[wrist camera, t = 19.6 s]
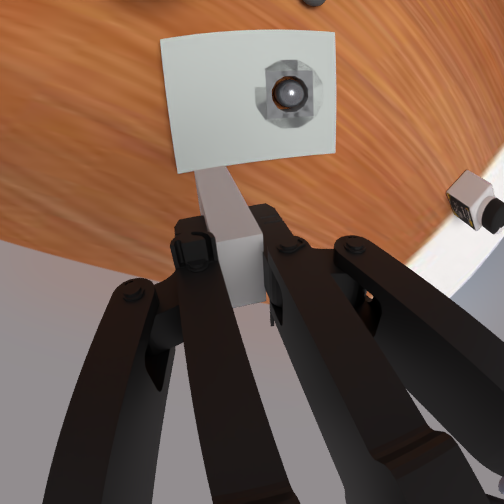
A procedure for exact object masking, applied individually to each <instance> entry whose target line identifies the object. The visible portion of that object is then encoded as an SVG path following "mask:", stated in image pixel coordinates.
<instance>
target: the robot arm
mask: <svg viewBox="0 0 504 504" xmlns="http://www.w3.org/2000/svg"><path fill="white" fill-rule="evenodd" d="M194 173H195V180H196V187H197V193H198V200H199V206H200V213H201V216H196V217H191V218H186V219H180V220H179V221H178V222H177V224H176V225H175V227H174V228H175V238H174V239H173V240H172V241H171V244H170V248H171V253H172V257H173V261H174V265H175V269H176V270H175V272H174V273H173V274H172V275H171V276H170V277H169V278H167V279H166V280H164V281H162V282H160V283H157V284H155V285H154V284H153V283H152V281H150V280H148V279H144V278H135V279H130V280H128V281H126V282H123V283H122V284H121V285H119V286H118V287H117V288H116V289H115V291H114V292H113V294H112V296H111V299H110V301H109V303H108V305H107V308H106V310H105V312H104V315H103V317H102V319H101V322H100V324H99V326H98V329H97V331H96V334H95V336H94V339H93V341H92V344H91V346H90V349H89V351H88V354H87V356H86V359H85V361H84V364H83V367H82V370H81V372H80V375H79V378H78V380H77V383H76V386H75V389H74V392H73V395H72V398H71V401H70V404H69V407H68V410H67V413H66V416H65V419H64V422H63V426H62V429H61V432H60V436H59V439H58V442H57V446H56V450H55V453H54V457H53V461H52V464H51V468H50V473H49V477H48V481H47V485H46V489H45V494H44V498H43V503H42V504H152V497H153V489H154V480H155V473H156V465H157V458H158V450H159V444H160V437H161V431H162V424H163V418H164V412H165V406H166V400H167V394H168V388H169V382H170V377H171V371H172V366H173V360H174V355H175V346H176V345H179V344H181V343H183V342H184V349H185V356H186V363H187V370H188V377H189V383H190V389H191V395H192V402H193V408H194V413H195V419H196V424H197V430H198V434H199V440H200V446H201V450H202V455H203V460H204V464H205V469H206V474H207V479H208V483H209V488H210V492H211V496H212V501H213V504H300V502H299V500H298V498H297V496H296V495H295V493H294V492H293V490H292V488H291V486H290V483H289V480H288V478H287V475H286V472H285V469H284V466H283V463H282V460H281V458H280V455H279V452H278V449H277V446H276V443H275V440H274V437H273V434H272V431H271V428H270V426H269V422H268V419H267V416H266V413H265V410H264V407H263V404H262V401H261V398H260V395H259V392H258V389H257V386H256V382H255V379H254V377H253V373H252V370H251V367H250V363H249V360H248V357H247V354H246V351H245V348H244V344H243V342H242V338H241V334H240V331H239V328H238V325H237V321H236V318H235V315H234V311H233V308H236V307H241V306H245V305H250V304H254V303H259V302H264V301H266V292H267V294H268V296H269V299H270V322H271V326H274V321H275V323H276V326H277V328H278V331H279V333H280V335H281V338H282V340H283V342H284V345H285V347H286V350H287V352H288V354H289V357H290V359H291V362H292V364H293V367H294V369H295V371H296V374H297V376H298V378H299V381H300V383H301V386H302V388H303V390H304V393H305V395H306V397H307V400H308V402H309V405H310V407H311V410H312V412H313V414H314V417H315V419H316V422H317V424H318V426H319V429H320V431H321V433H322V436H323V438H324V440H325V443H326V445H327V448H328V450H329V452H330V455H331V457H332V459H333V462H334V464H335V466H336V469H337V471H338V474H339V476H340V478H341V480H342V483H343V486H344V489H345V499H346V504H504V499H500V498H497V497H494V496H491V495H488V494H485V492H484V490H483V489H482V487H481V485H480V483H479V481H478V479H477V478H476V476H475V474H474V472H473V470H472V468H471V467H470V465H469V463H468V461H467V460H466V458H465V456H464V454H463V453H462V451H461V449H460V448H459V446H458V444H457V443H456V442H455V440H454V439H453V438H452V437H451V436H450V435H448V434H447V433H445V432H441V431H434V430H433V429H431V428H430V427H429V426H428V425H427V423H426V421H425V420H424V418H423V416H422V415H421V413H420V411H419V410H418V408H417V406H416V405H415V403H414V402H413V400H412V398H411V397H410V395H409V393H408V392H407V390H408V391H409V392H410V393H411V394H412V395H413V396H414V397H415V398H416V399H417V400H418V401H419V402H420V403H421V404H422V405H423V406H424V407H425V408H426V409H427V410H428V411H429V412H430V413H431V414H432V415H433V416H434V417H435V418H436V419H437V421H438V422H439V423H441V425H442V426H443V427H444V428H445V429H446V430H447V431H448V432H449V433H450V434H451V435H452V436H453V437H454V438H455V439H456V440H457V441H458V442H459V443H460V444H461V445H462V446H463V447H464V448H465V449H466V450H467V451H468V452H469V453H470V454H471V455H472V456H473V457H474V458H475V459H477V460H478V461H479V462H480V463H481V464H482V465H484V466H485V467H486V468H488V469H489V470H491V471H493V472H494V473H497V474H498V475H500V476H502V478H501V480H500V481H499V486H498V487H499V491H500V492H501V493H502V494H504V342H503V341H501V340H500V339H499V338H498V337H497V336H496V335H495V334H493V333H492V332H491V331H490V330H488V329H487V328H486V327H485V326H483V325H482V324H481V323H480V322H478V321H477V320H476V319H475V318H474V317H472V316H471V315H470V314H469V313H467V312H466V311H465V310H464V309H462V308H461V307H460V306H459V305H457V304H456V303H455V302H453V301H452V300H451V299H450V298H448V297H447V296H446V295H444V294H443V293H442V292H440V291H439V290H438V289H436V288H435V287H434V286H432V285H431V284H430V283H428V282H427V281H426V280H424V279H423V278H422V277H420V276H419V275H417V274H416V273H415V272H413V271H412V270H411V269H409V268H408V267H406V266H405V265H404V264H402V263H401V262H399V261H398V260H397V259H395V258H394V257H392V256H391V255H389V254H388V253H387V252H385V251H384V250H382V249H381V248H379V247H378V246H377V245H375V244H374V243H372V242H371V241H369V240H367V239H365V238H363V237H359V236H354V235H350V236H344V237H341V238H339V239H337V240H336V242H335V244H334V249H315V248H312V247H311V246H310V245H309V243H308V242H307V241H306V240H304V239H303V238H300V237H298V236H293V234H292V233H291V231H290V230H289V228H288V227H287V226H286V224H285V223H284V221H282V218H281V217H280V216H279V214H278V213H277V211H276V210H275V208H273V207H271V206H270V205H268V204H266V203H265V204H259V205H253V206H247V204H246V202H245V200H244V198H243V196H242V195H241V193H240V191H239V189H238V187H237V186H236V184H235V182H234V180H233V178H232V177H231V175H230V173H229V171H228V169H227V167H226V166H225V165H224V166H218V167H212V168H206V169H200V170H194ZM367 291H368V292H369V293H371V294H372V295H373V299H371V298H369V297H368V296H367V295H366V293H367ZM406 389H407V390H406Z"/></svg>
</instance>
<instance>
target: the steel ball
mask: <svg viewBox="0 0 504 504" xmlns="http://www.w3.org/2000/svg"><path fill="white" fill-rule="evenodd" d="M275 97H276V100H277V101H278V102H279V103H280V104H281V105H283V106H285V107H295V106H297V105H299V104H300V103H301V102H302V100H303V98H304V89H303V87H302V86H301V84H300V83H298V82H297V81H295V80H290V79H289V80H284V81H281V82H280V83H279V84H278V85H277V86H276V89H275Z"/></svg>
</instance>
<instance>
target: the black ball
mask: <svg viewBox="0 0 504 504" xmlns="http://www.w3.org/2000/svg"><path fill="white" fill-rule="evenodd" d="M303 1H304V2H305V3H306V4H308V5H310V6H320V5H322V4H323V3H324V2H325V0H303Z"/></svg>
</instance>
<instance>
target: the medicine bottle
mask: <svg viewBox="0 0 504 504" xmlns="http://www.w3.org/2000/svg"><path fill="white" fill-rule="evenodd" d="M446 194H447V197H448V199H449V202H450V204H451V207H452V210H453V212H454V214H455V215H456V216H457V217H458V218H460V219H461V220H462V221H464V222H465V223H466V224H468V225H469V226H470V227H472V228H473V229H474V230H475V231H478V230H479V229H480V228H481V226H483V227H484V228H486V229H487V230H488V231H489V232H491V233H492V234H498V233H500V232H501V231H502V230H503V229H504V202H502V201H501V200H499V199H498V198H496V197H495V195H494V191H493V186H492V184H491V183H489V182H488V181H486V180H484V179H483V178H481V177H479V176H477V175H476V174H474V173H472V172H470V171H469V170H466V171H465V172H464V173H463V174H462V175H461V176H460V177H459V179H458V180H457V181H456V182H455V183H454V184H453V185H452V186H451V187H450V188H449V189H448V190H447V191H446Z"/></svg>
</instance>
